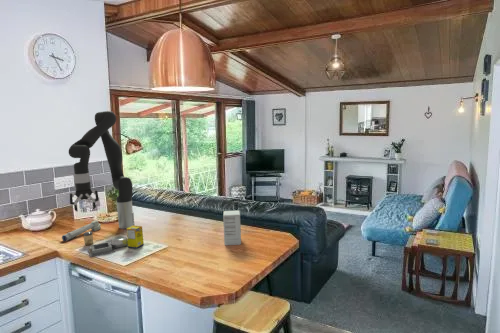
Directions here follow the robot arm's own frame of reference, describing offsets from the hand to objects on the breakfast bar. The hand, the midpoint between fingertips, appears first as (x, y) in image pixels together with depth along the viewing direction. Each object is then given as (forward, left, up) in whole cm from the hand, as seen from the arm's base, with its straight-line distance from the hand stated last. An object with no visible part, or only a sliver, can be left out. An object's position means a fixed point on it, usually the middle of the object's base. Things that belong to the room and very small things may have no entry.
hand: (85, 210), depth 186 cm
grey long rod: (+2, -22, -21) cm, 30 cm away
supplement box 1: (-22, +18, -20) cm, 35 cm away
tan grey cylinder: (0, 0, -20) cm, 20 cm away
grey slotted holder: (-9, +14, -20) cm, 26 cm away
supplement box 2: (-69, +43, -20) cm, 84 cm away
